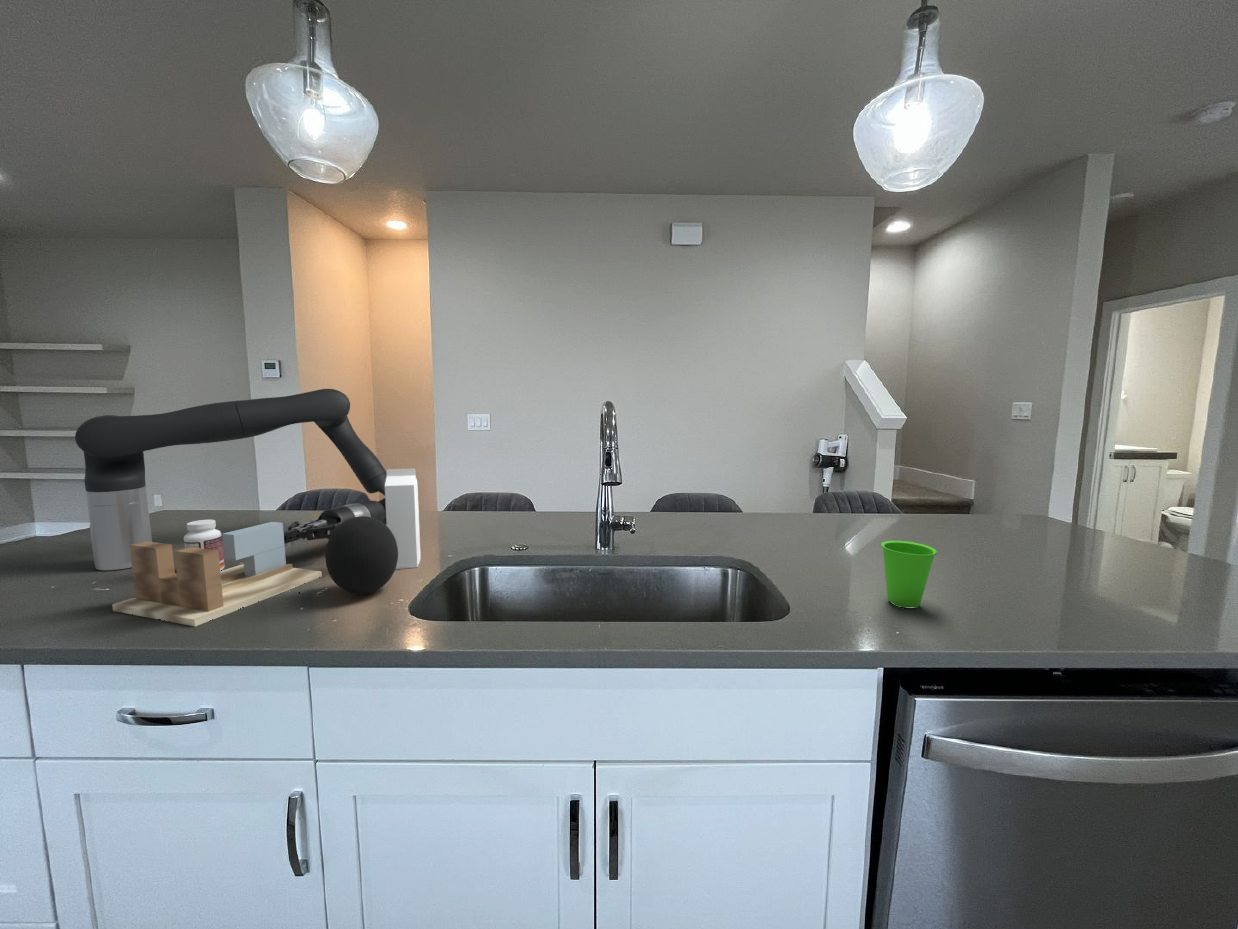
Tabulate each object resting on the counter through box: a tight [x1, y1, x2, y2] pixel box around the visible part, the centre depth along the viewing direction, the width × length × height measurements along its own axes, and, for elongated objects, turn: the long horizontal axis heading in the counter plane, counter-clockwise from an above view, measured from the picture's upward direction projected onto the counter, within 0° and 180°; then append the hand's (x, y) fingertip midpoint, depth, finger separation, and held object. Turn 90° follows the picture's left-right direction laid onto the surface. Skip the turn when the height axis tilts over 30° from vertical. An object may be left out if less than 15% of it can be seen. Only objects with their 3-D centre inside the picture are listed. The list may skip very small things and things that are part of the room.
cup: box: [880, 540, 938, 608], centre depth 91 cm, size 9×9×11 cm
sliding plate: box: [221, 521, 287, 578], centre depth 98 cm, size 3×10×10 cm, turn 164°
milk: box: [384, 468, 422, 570], centre depth 109 cm, size 6×6×22 cm
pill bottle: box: [183, 519, 226, 571], centre depth 104 cm, size 6×6×11 cm
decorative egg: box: [324, 516, 398, 595], centre depth 93 cm, size 12×12×15 cm
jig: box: [111, 541, 323, 627], centre depth 93 cm, size 20×24×11 cm
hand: (279, 539), depth 103 cm, fingers closed
